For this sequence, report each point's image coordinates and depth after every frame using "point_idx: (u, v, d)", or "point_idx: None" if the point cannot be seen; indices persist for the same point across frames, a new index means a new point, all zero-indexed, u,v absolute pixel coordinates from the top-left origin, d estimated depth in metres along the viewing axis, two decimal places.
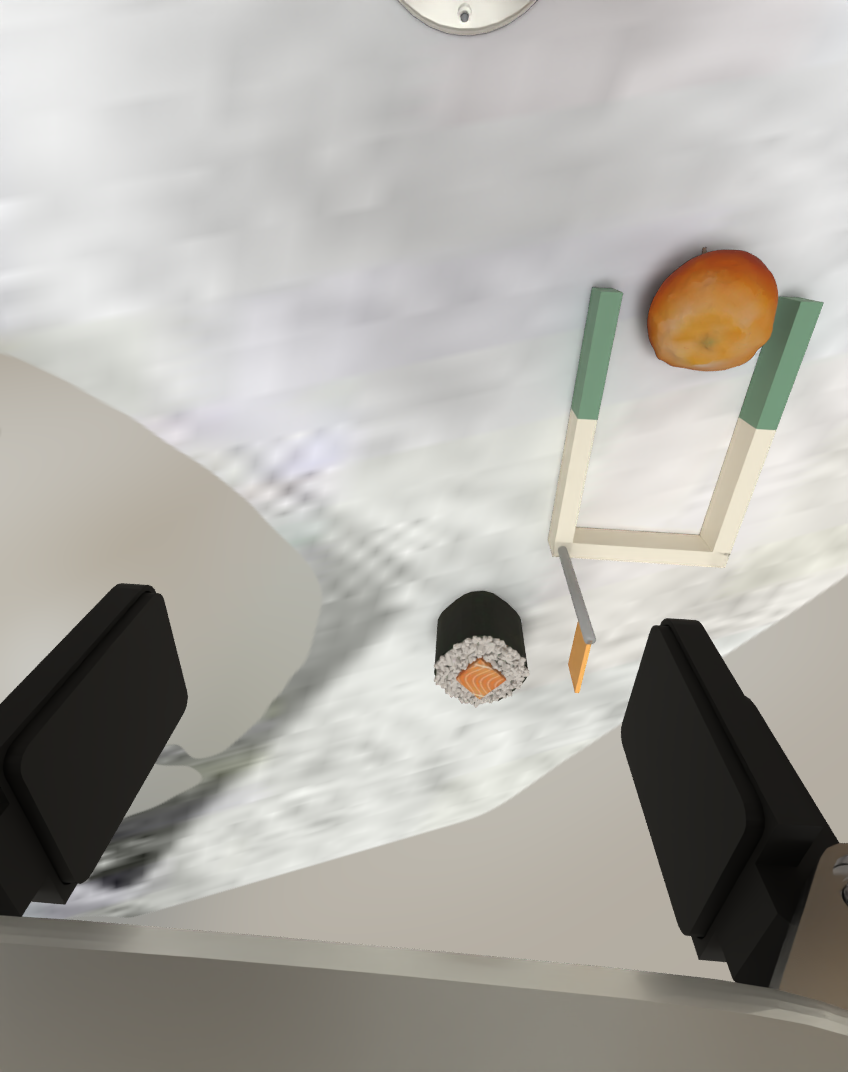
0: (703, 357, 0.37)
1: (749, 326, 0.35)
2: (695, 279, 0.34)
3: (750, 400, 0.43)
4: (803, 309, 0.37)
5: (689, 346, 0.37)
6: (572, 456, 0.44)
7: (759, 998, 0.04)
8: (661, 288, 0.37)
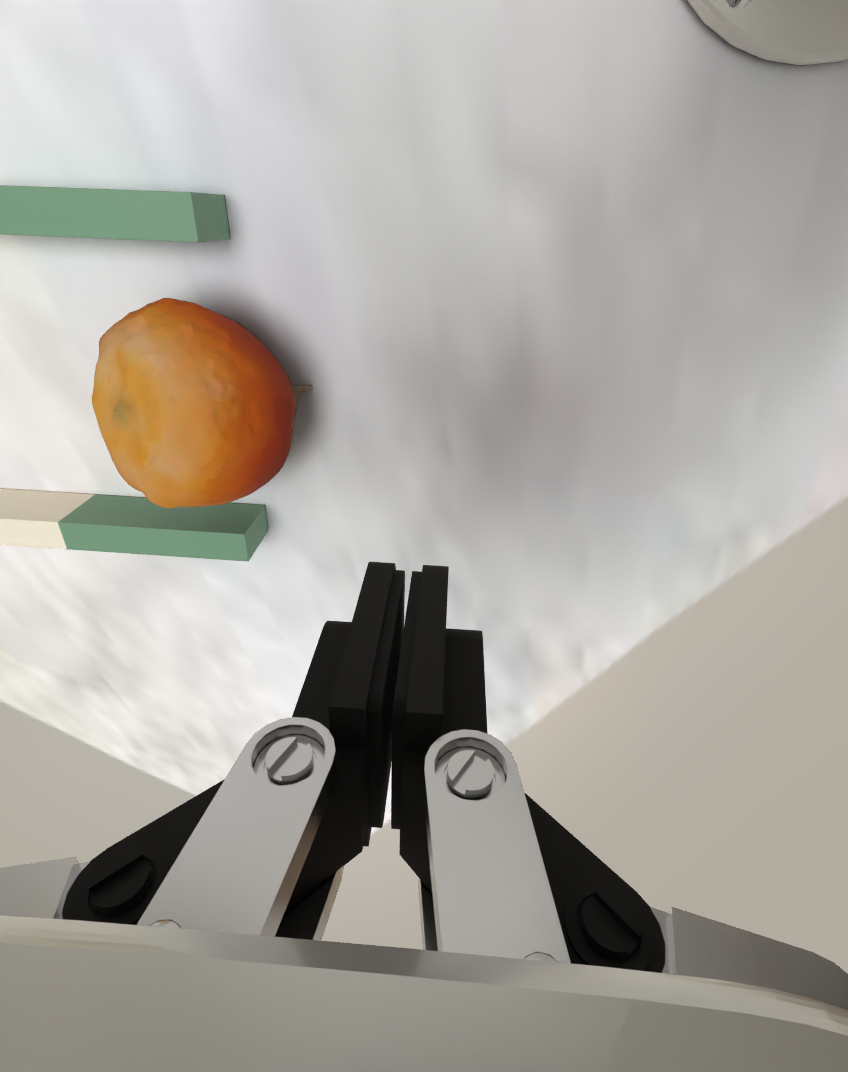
0: (102, 411, 0.20)
1: (156, 472, 0.20)
2: (216, 366, 0.19)
3: (115, 504, 0.28)
4: (234, 539, 0.26)
5: (112, 381, 0.20)
6: None
7: (759, 998, 0.04)
8: (212, 314, 0.20)
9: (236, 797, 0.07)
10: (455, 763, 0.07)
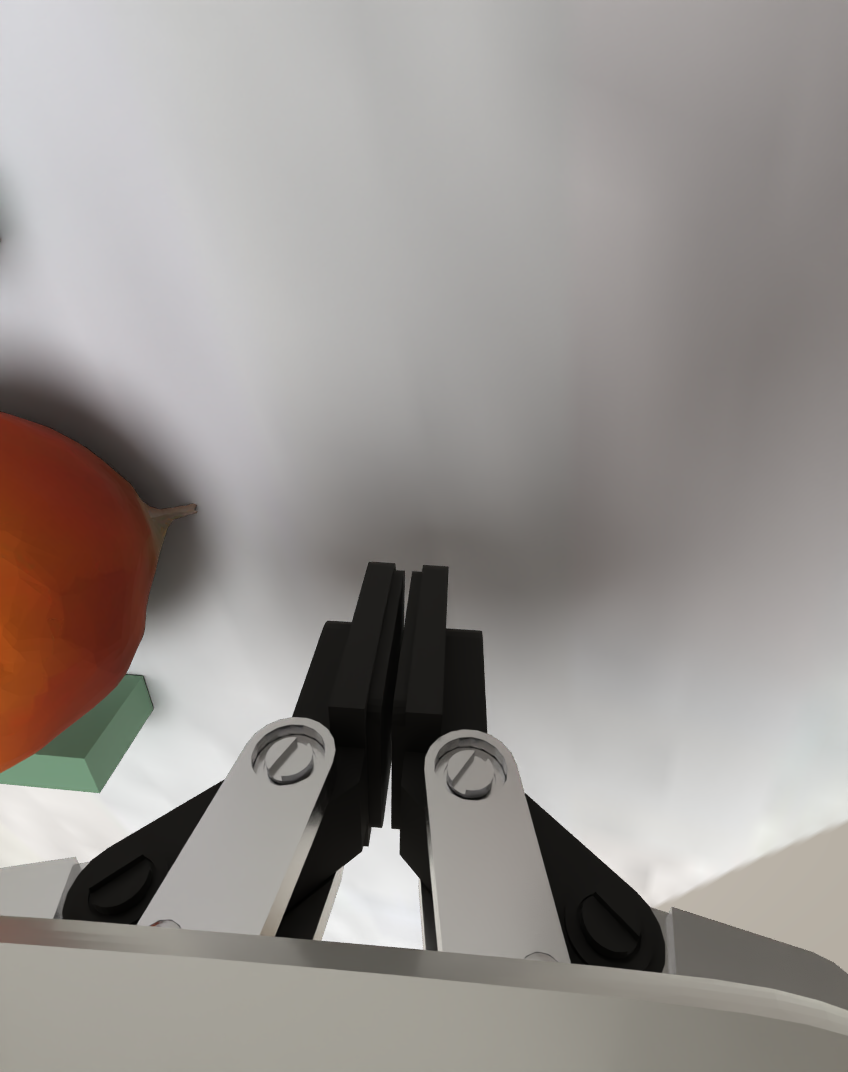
0: None
1: None
2: None
3: None
4: (69, 764, 0.15)
5: None
6: None
7: (759, 998, 0.04)
8: None
9: (236, 797, 0.07)
10: (455, 763, 0.07)
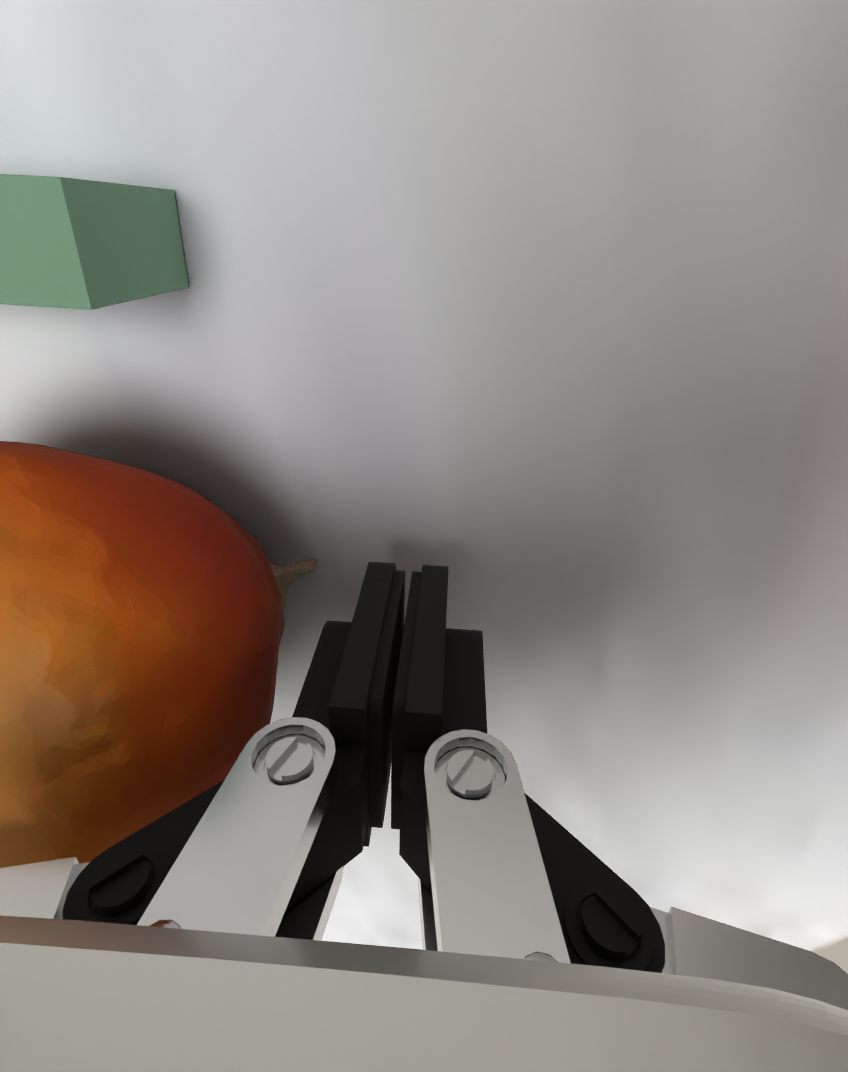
0: None
1: None
2: (59, 652, 0.07)
3: None
4: None
5: None
6: None
7: (759, 998, 0.04)
8: (71, 483, 0.08)
9: (237, 797, 0.07)
10: (455, 763, 0.07)
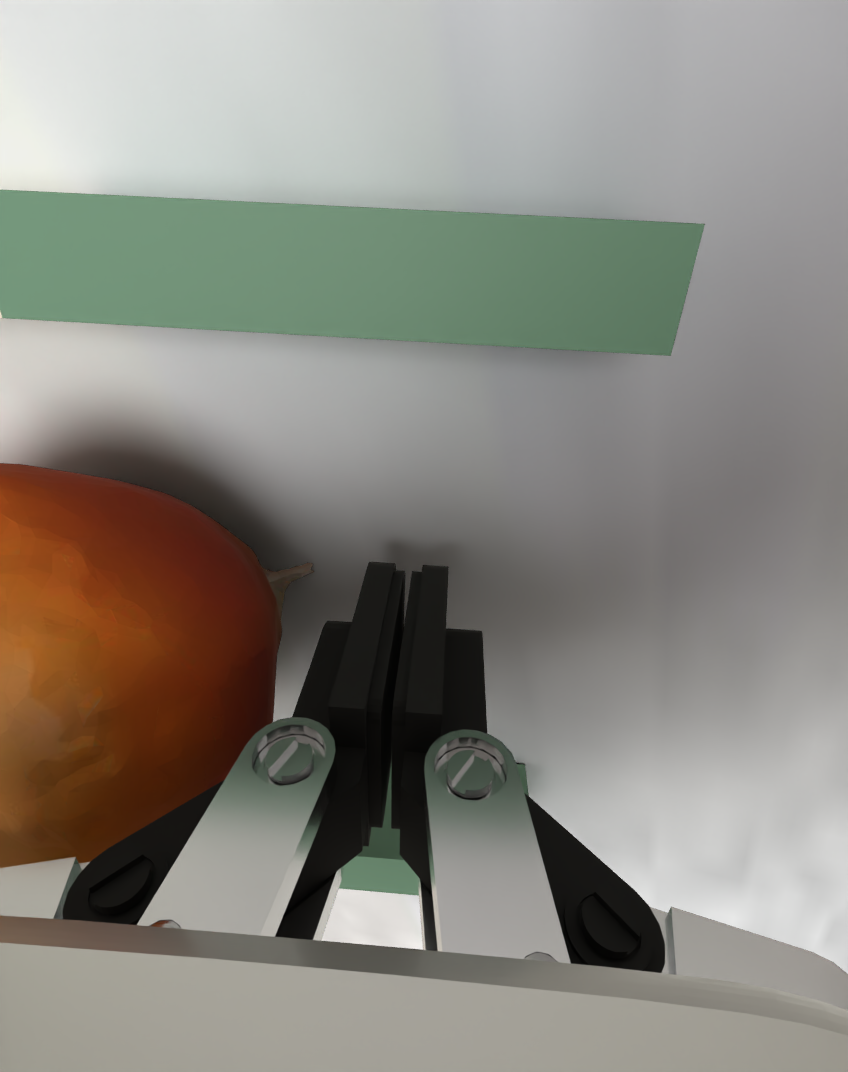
0: None
1: None
2: (42, 666, 0.07)
3: None
4: None
5: None
6: None
7: (759, 998, 0.04)
8: (50, 499, 0.08)
9: (236, 797, 0.07)
10: (455, 763, 0.07)
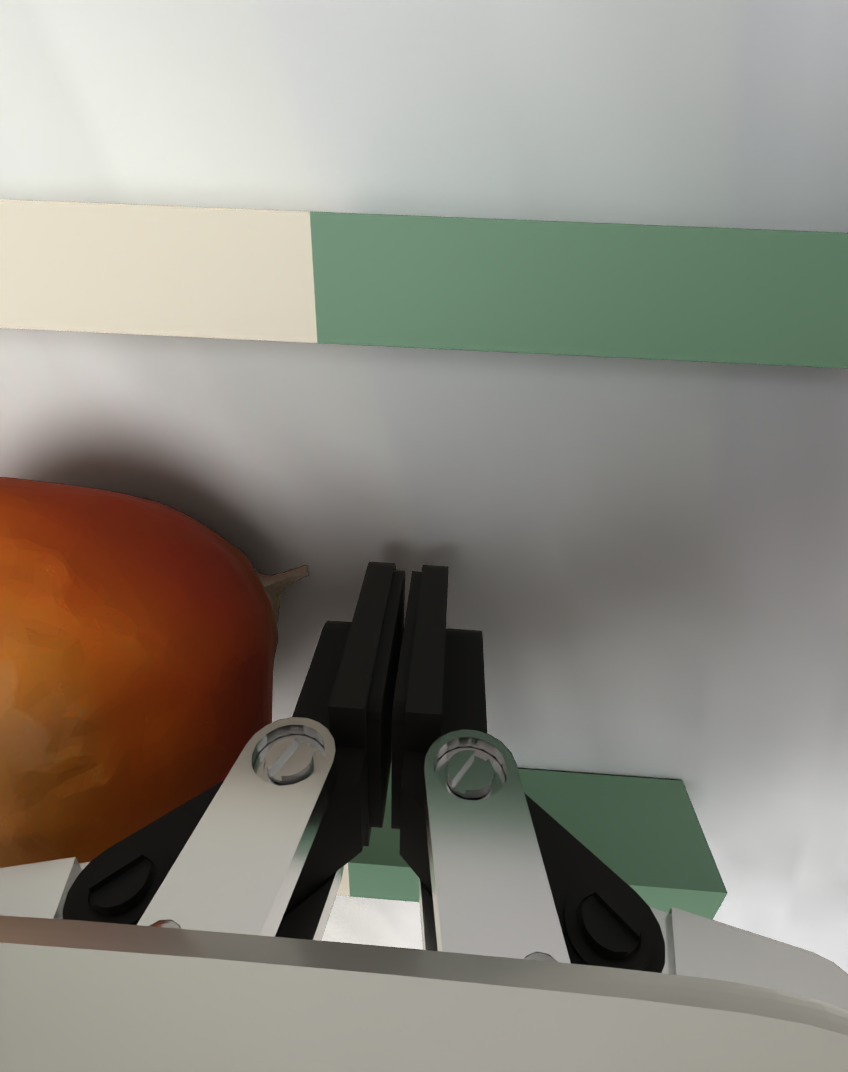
0: None
1: None
2: (25, 676, 0.07)
3: None
4: (701, 898, 0.13)
5: None
6: (62, 214, 0.07)
7: (759, 998, 0.04)
8: (32, 509, 0.08)
9: (236, 797, 0.07)
10: (455, 763, 0.07)
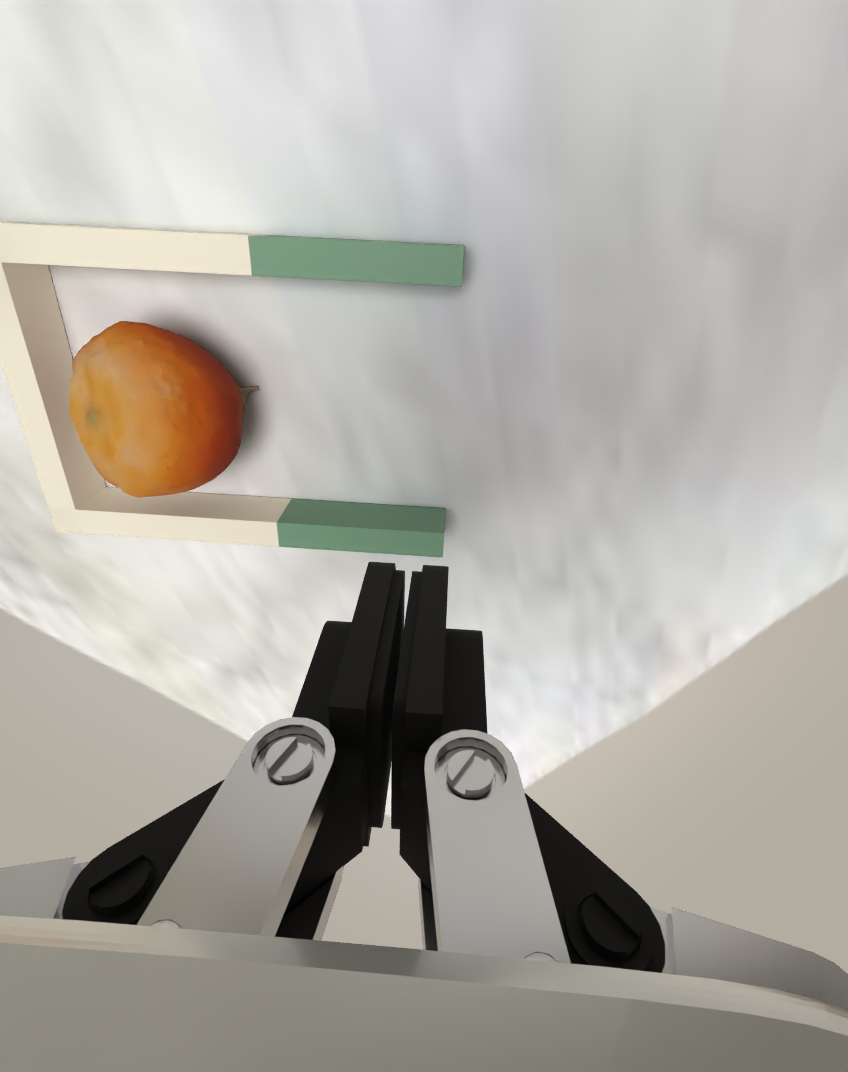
0: (78, 419, 0.24)
1: (124, 465, 0.24)
2: (164, 371, 0.23)
3: (314, 507, 0.31)
4: (434, 538, 0.29)
5: (83, 393, 0.24)
6: (175, 235, 0.23)
7: (759, 998, 0.04)
8: (160, 330, 0.24)
9: (236, 797, 0.07)
10: (455, 763, 0.07)
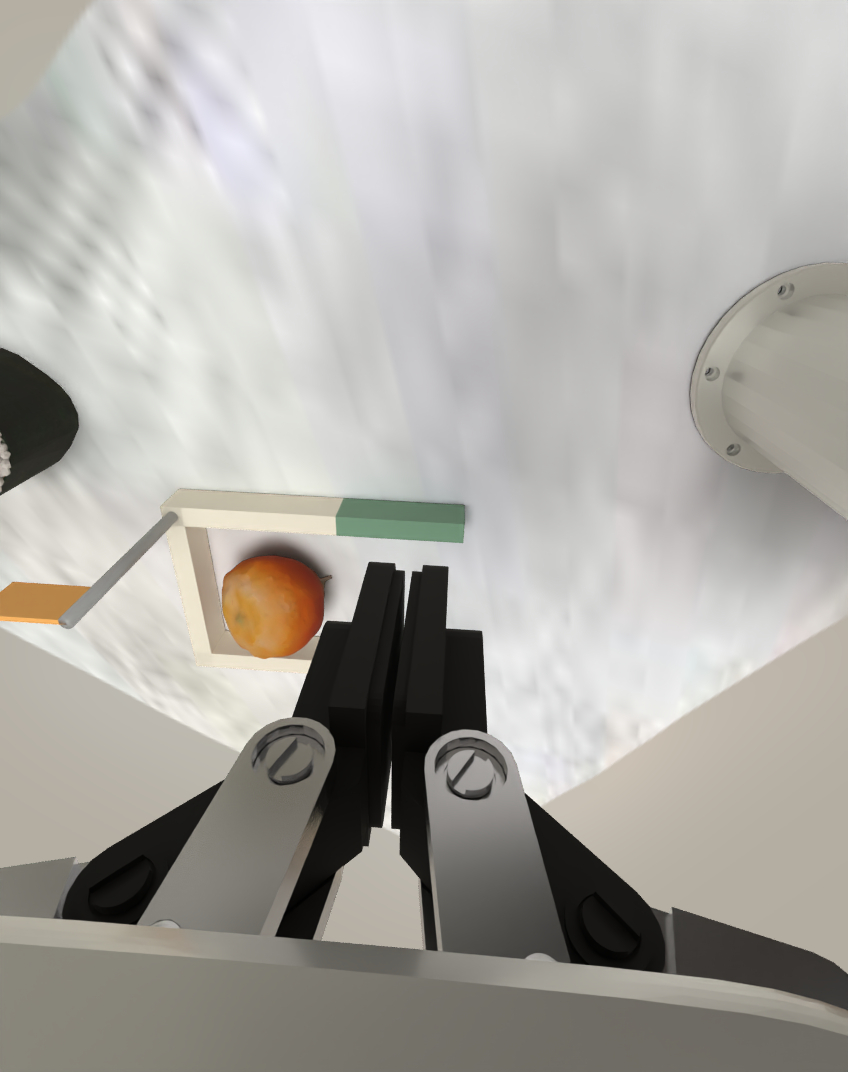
0: (229, 617, 0.40)
1: (258, 646, 0.40)
2: (285, 596, 0.38)
3: None
4: None
5: (234, 604, 0.39)
6: (292, 515, 0.38)
7: (759, 998, 0.04)
8: (279, 565, 0.39)
9: (236, 797, 0.07)
10: (455, 763, 0.07)
